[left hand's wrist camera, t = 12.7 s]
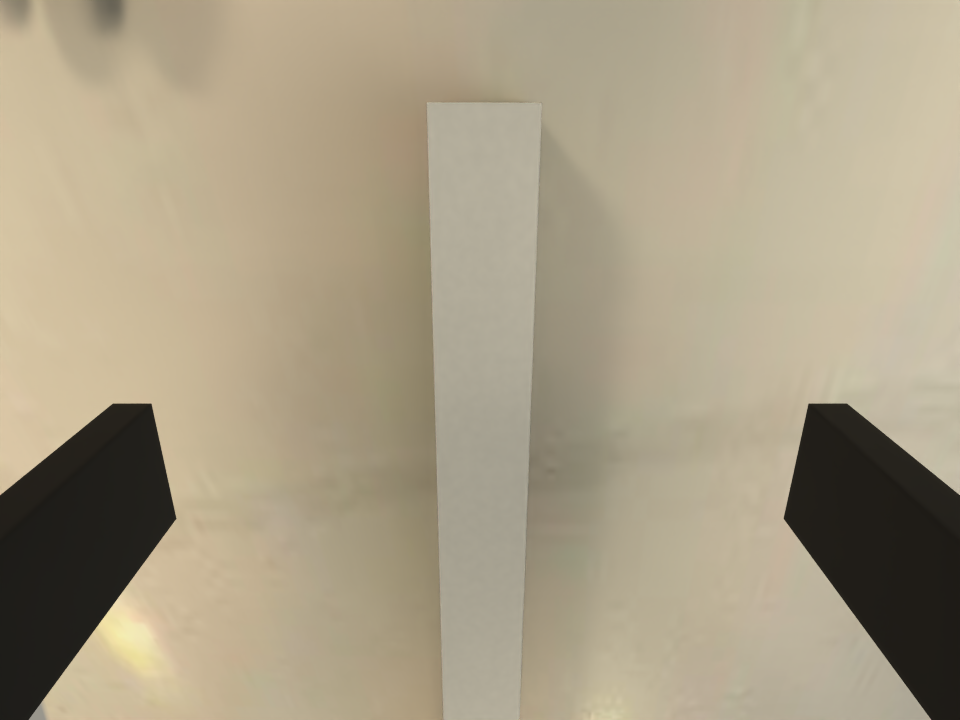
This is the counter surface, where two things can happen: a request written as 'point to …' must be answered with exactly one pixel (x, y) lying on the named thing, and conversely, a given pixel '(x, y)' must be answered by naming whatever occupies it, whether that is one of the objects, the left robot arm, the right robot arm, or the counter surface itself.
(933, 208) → the counter surface
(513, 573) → the beam
